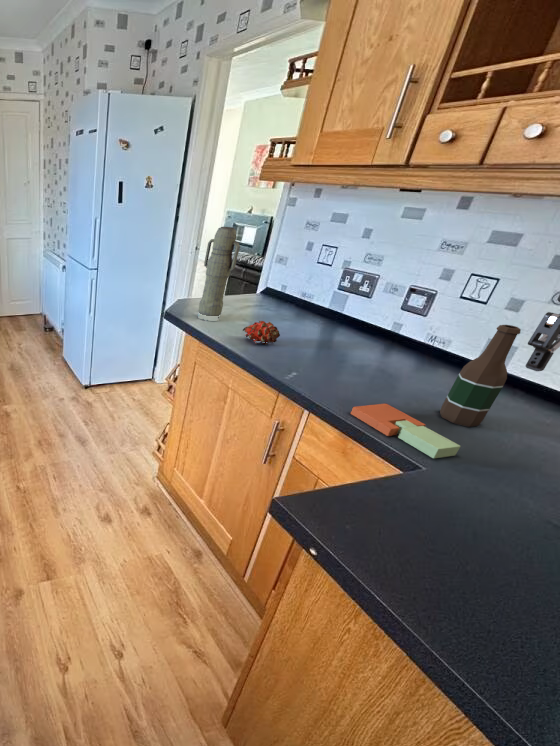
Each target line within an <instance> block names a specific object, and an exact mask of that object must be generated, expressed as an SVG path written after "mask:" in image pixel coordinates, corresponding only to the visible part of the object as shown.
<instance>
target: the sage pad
mask: <svg viewBox="0 0 560 746" xmlns="http://www.w3.org/2000/svg"><path fill="white" fill-rule="evenodd" d="M395 425H396V426H397V427H399V430H398V432H397V434H396V435H397V438H398V439H400V440H401V441H403V442H404V443H406V444H408V445H410V446H411V447H413V448H414V449H417V450H418V451H420V452H421V453H423V454H425V455H426V456H428V457H430V458H431V459H439V458H447V457H453V456H455V457H456V456H457V454H458V452H459V450H460V448H461V445H460V444H458V443H456V442H454V441H453V440H450V439H449V438H447V437H445V436H443V435H441V434H439V433H437V432H436V431H434V430H431V429H430V428H429V427H427V426H425V427H424V426H416V425H414V424H413V423H411V422H409V421H407V420H405V421H397V422H396V424H395Z"/></svg>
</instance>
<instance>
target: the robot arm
mask: <svg viewBox="0 0 560 746" xmlns="http://www.w3.org/2000/svg"><path fill="white" fill-rule="evenodd" d="M556 300H557V302H558V303H560V294H559V295H558V297H557V299H556ZM527 345H528V346H530V347H533V348H534V350H533V352H532V353H531V354H530V356H529V359H528V360H527V362H526V364H525V369H528V370H531V371H534V372H543V371H544V370H545V368H546V367H547V365H548V364H549V362H550V360H551V359H552V357H553V356H554V354H555V352H556V351H557V350H558V349H559V348H560V313H556V312H550V311H547V312H546V313H545V314H544V316H543V317H542V319H541V320H540V322H539V324H538V325H537V327H536V329H535V330H534V332H533V333H532V335H531V337H530V338H529V340H528V342H527Z"/></svg>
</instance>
